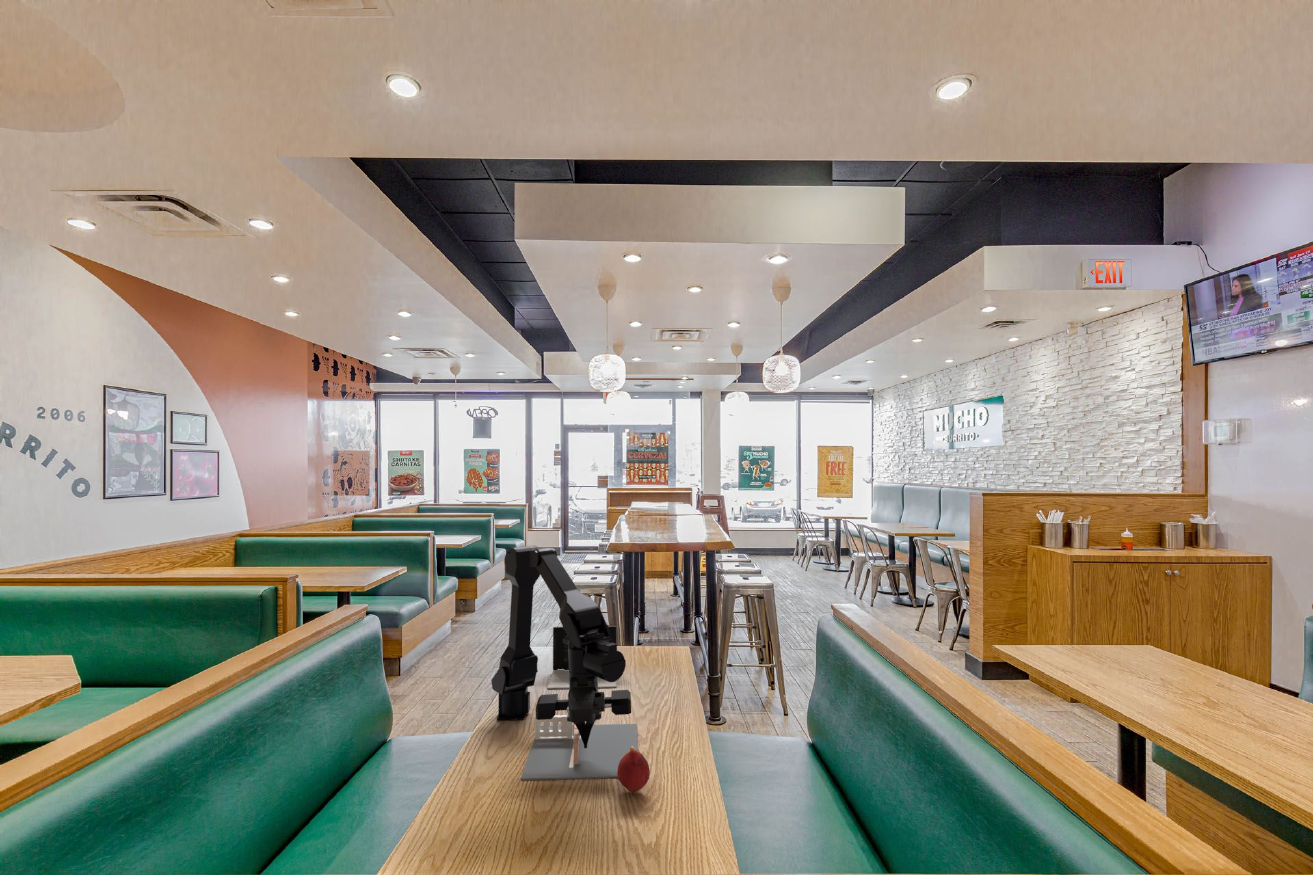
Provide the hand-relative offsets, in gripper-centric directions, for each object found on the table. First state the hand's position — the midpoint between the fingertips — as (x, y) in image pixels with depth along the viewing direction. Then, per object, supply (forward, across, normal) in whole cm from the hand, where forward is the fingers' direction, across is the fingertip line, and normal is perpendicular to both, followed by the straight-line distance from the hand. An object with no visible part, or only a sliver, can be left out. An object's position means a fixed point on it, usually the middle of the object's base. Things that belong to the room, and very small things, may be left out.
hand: (585, 747), depth 119 cm
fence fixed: (+2, -7, +9) cm, 11 cm away
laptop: (+3, -3, +43) cm, 43 cm away
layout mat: (+2, 0, +4) cm, 4 cm away
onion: (+3, +9, -12) cm, 16 cm away
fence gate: (+2, -2, +3) cm, 4 cm away
